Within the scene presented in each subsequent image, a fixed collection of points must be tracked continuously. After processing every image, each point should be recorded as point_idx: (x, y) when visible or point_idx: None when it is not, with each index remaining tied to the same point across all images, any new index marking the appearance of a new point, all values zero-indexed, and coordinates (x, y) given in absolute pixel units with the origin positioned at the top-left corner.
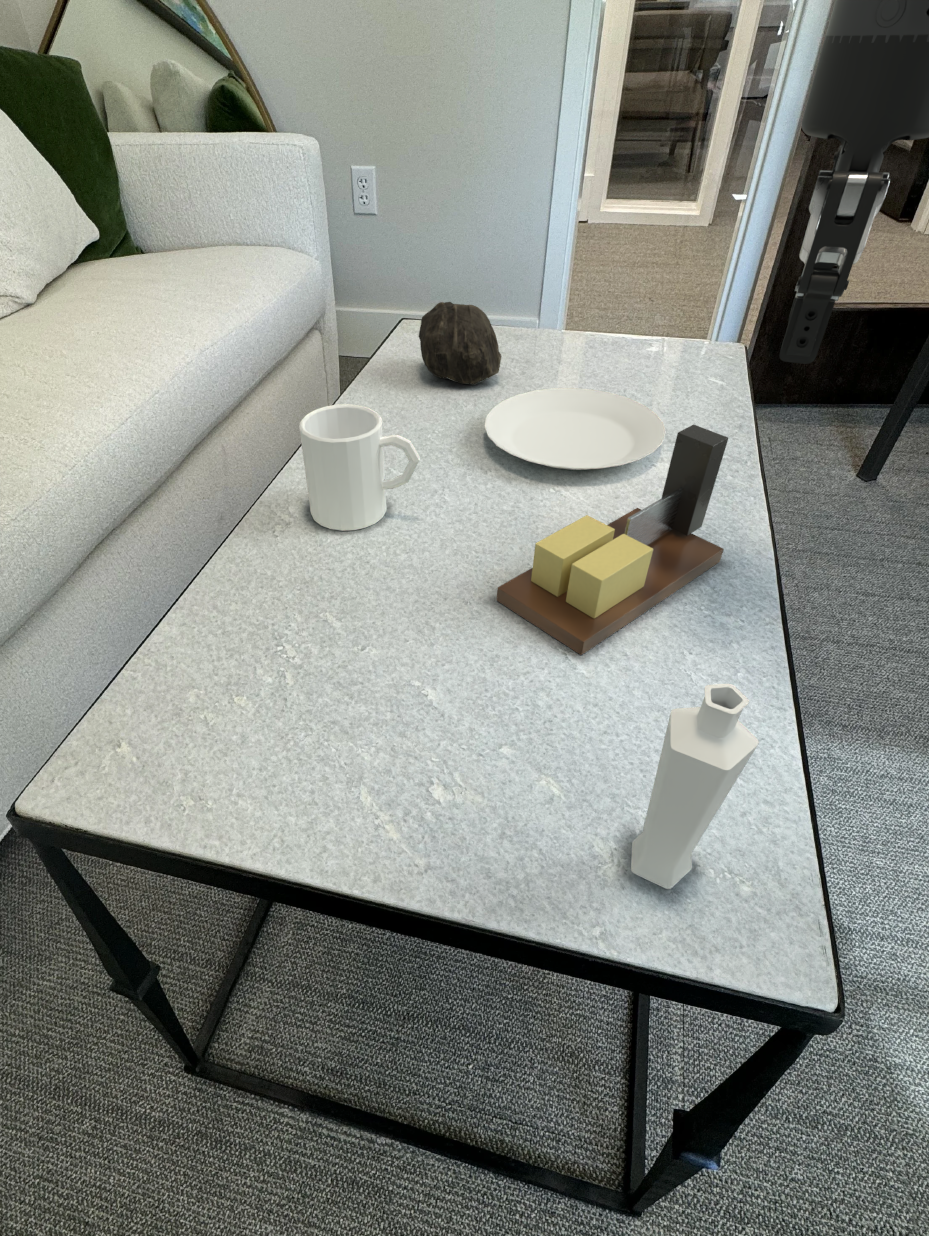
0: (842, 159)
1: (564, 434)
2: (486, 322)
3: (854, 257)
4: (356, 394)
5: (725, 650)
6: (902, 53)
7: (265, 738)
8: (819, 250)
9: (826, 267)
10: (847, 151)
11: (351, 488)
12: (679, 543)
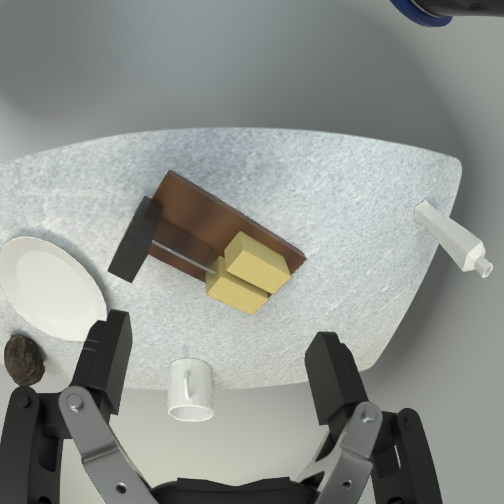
0: None
1: (47, 293)
2: (10, 362)
3: (428, 449)
4: None
5: (288, 167)
6: None
7: (353, 341)
8: (399, 469)
9: (104, 402)
10: None
11: (209, 385)
12: (170, 208)
